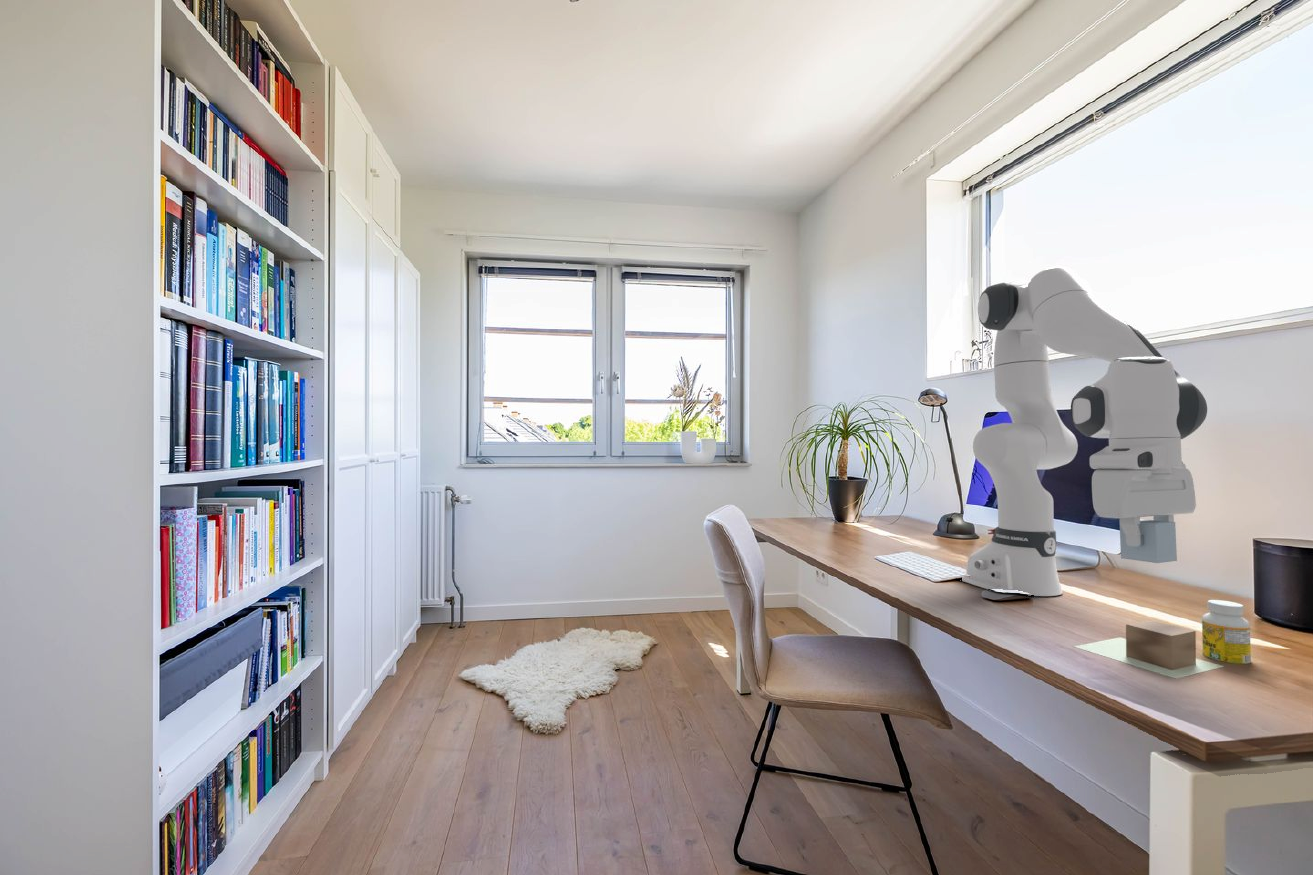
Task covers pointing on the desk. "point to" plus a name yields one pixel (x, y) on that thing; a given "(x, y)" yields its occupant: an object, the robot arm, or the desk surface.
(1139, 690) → the desk surface
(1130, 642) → the walnut block
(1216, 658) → the supplement bottle
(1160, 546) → the slate brick
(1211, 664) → the plate
